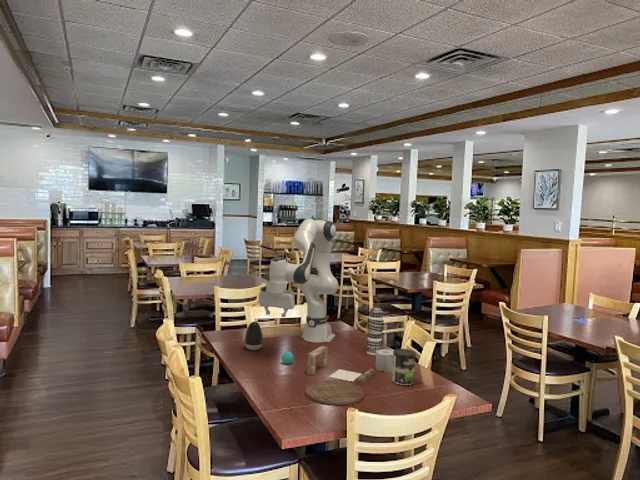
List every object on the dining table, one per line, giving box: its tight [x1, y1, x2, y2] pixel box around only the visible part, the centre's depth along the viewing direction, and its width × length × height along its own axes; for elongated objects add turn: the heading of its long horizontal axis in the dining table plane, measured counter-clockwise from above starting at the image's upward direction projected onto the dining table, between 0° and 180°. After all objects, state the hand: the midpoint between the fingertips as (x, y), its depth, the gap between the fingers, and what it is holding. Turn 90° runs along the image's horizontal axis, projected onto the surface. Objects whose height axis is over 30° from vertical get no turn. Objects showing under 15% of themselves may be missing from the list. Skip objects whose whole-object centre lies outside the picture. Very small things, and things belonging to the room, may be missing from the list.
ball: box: [281, 351, 294, 365], centre depth 241 cm, size 6×6×6 cm
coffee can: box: [391, 348, 417, 386], centre depth 222 cm, size 10×10×14 cm
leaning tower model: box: [366, 306, 385, 356], centre depth 265 cm, size 9×9×25 cm
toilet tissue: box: [375, 348, 394, 374], centre depth 238 cm, size 9×13×9 cm
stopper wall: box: [355, 368, 375, 387], centre depth 223 cm, size 18×2×2 cm, turn 154°
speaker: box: [243, 321, 264, 351], centre depth 263 cm, size 10×10×15 cm
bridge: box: [306, 345, 329, 376], centre depth 234 cm, size 3×15×10 cm, turn 153°
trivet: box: [305, 379, 365, 407], centre depth 205 cm, size 25×25×2 cm
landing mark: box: [328, 368, 363, 383], centre depth 228 cm, size 12×12×1 cm
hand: (275, 315), depth 246 cm, fingers open, 8 cm apart
